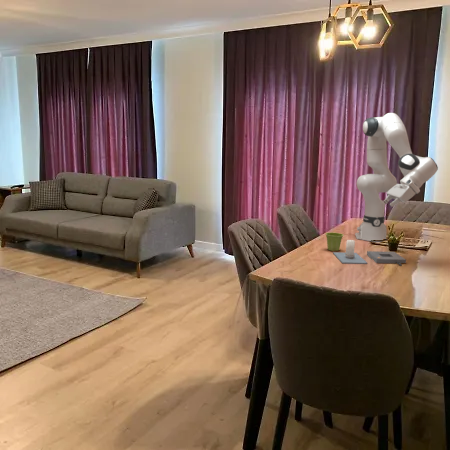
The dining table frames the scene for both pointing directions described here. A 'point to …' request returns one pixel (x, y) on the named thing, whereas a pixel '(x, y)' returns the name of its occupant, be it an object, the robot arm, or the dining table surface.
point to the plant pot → (333, 241)
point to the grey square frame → (386, 257)
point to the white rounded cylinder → (350, 249)
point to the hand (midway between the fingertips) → (387, 204)
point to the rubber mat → (343, 260)
